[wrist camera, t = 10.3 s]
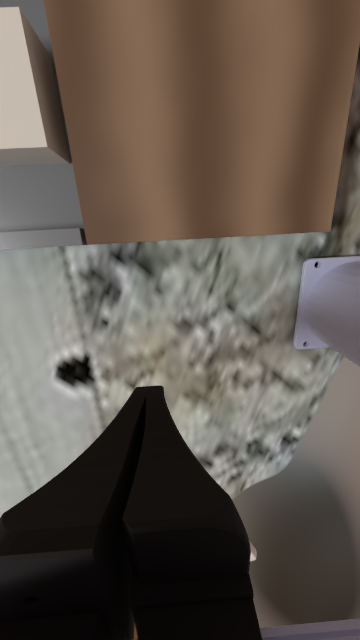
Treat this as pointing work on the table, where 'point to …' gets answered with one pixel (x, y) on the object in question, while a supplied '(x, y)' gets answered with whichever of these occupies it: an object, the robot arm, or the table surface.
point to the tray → (40, 178)
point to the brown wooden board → (204, 113)
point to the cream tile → (27, 97)
